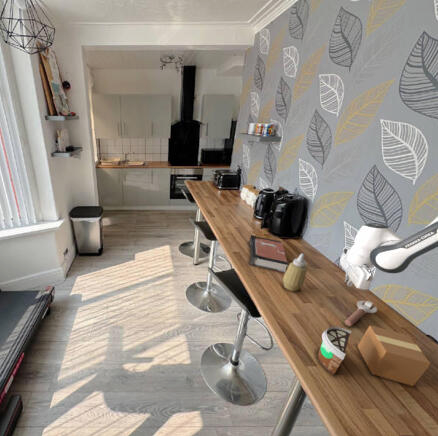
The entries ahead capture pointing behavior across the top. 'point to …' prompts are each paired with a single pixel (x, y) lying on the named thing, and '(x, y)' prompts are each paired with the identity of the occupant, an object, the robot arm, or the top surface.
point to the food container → (333, 347)
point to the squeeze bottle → (295, 274)
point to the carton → (392, 355)
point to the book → (267, 254)
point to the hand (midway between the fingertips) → (347, 284)
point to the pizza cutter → (360, 312)
